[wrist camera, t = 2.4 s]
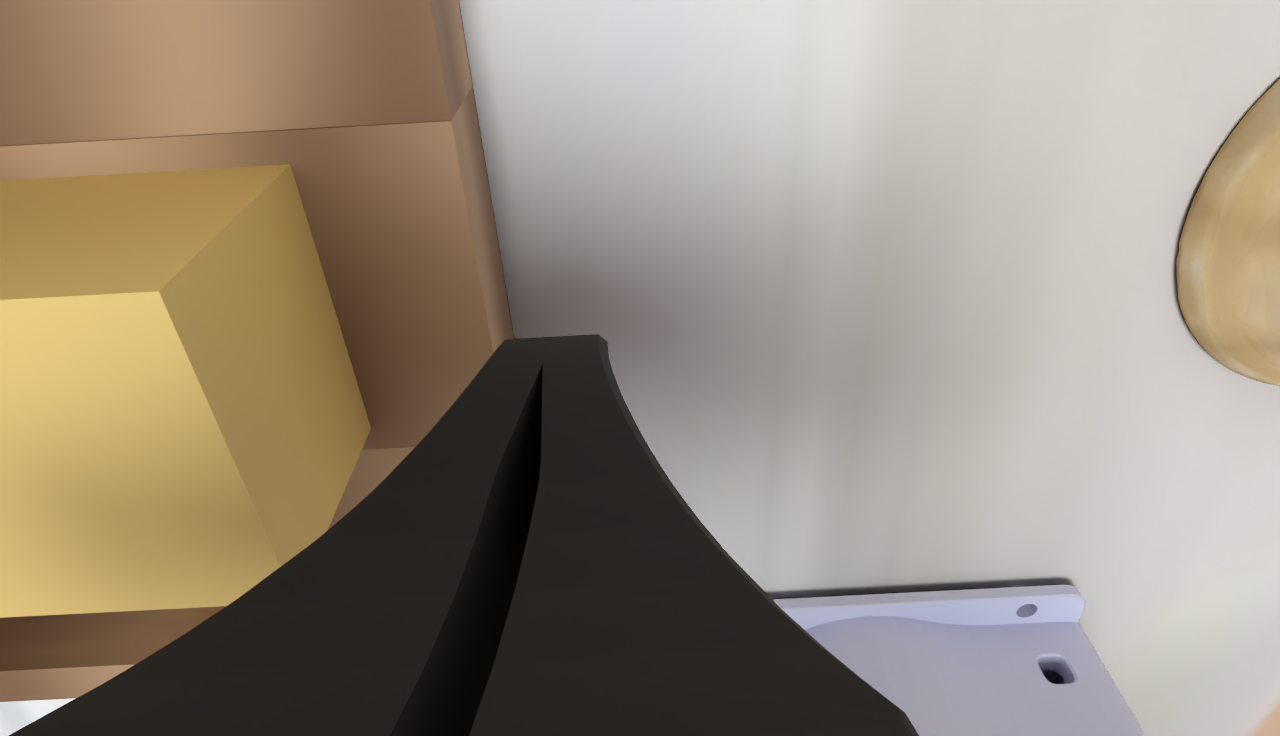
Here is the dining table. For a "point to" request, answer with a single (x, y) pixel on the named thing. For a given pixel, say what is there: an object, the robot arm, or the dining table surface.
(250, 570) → the ochre block
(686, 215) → the dining table surface
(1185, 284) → the hand bell
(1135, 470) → the dining table surface
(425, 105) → the walnut lane
